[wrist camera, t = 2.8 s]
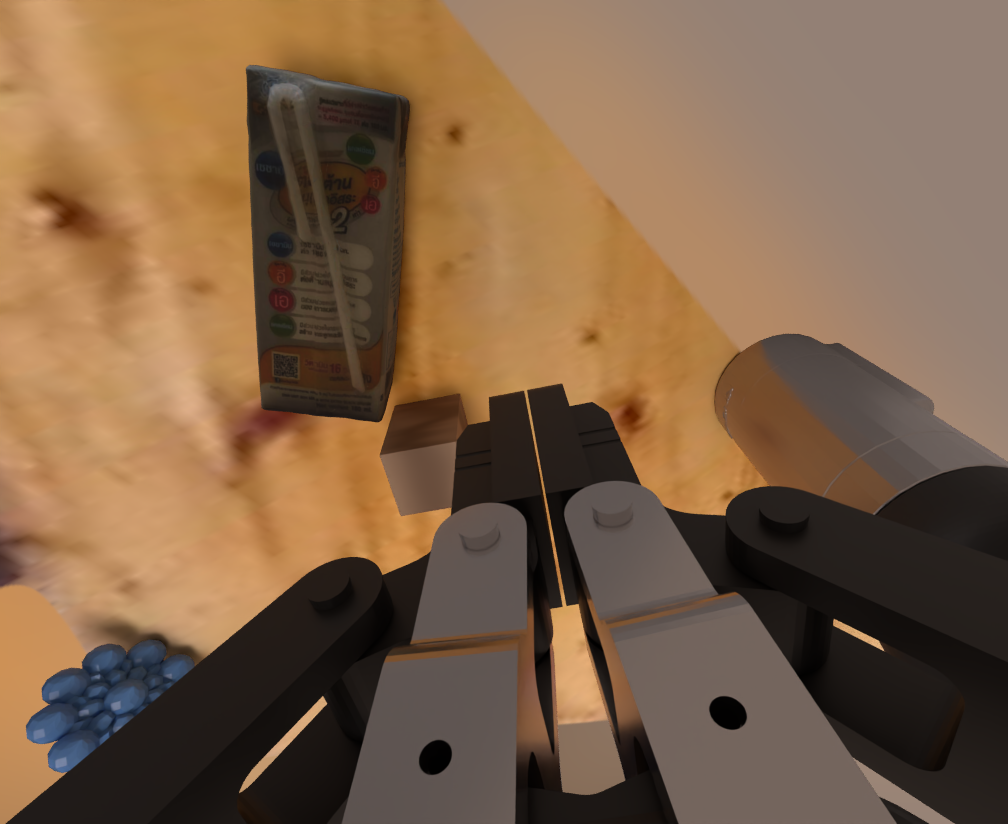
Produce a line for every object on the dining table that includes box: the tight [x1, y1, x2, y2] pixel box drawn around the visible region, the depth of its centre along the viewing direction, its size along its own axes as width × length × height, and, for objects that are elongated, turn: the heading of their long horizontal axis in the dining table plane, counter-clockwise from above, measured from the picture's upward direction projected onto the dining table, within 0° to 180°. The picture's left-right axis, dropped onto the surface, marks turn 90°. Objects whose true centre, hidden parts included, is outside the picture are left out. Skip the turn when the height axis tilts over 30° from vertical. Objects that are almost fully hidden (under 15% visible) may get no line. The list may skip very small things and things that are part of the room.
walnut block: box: [380, 394, 468, 516], centre depth 39 cm, size 5×5×7 cm
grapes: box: [26, 639, 195, 773], centre depth 47 cm, size 12×7×12 cm, turn 52°
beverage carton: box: [246, 65, 410, 422], centre depth 33 cm, size 8×19×7 cm, turn 171°
